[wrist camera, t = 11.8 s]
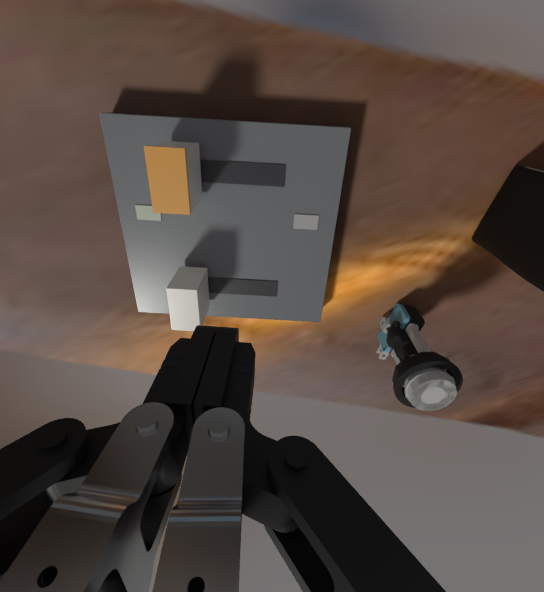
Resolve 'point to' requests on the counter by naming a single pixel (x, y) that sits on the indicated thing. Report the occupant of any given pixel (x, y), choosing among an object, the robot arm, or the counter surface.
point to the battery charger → (517, 225)
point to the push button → (416, 362)
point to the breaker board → (231, 217)
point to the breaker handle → (174, 176)
